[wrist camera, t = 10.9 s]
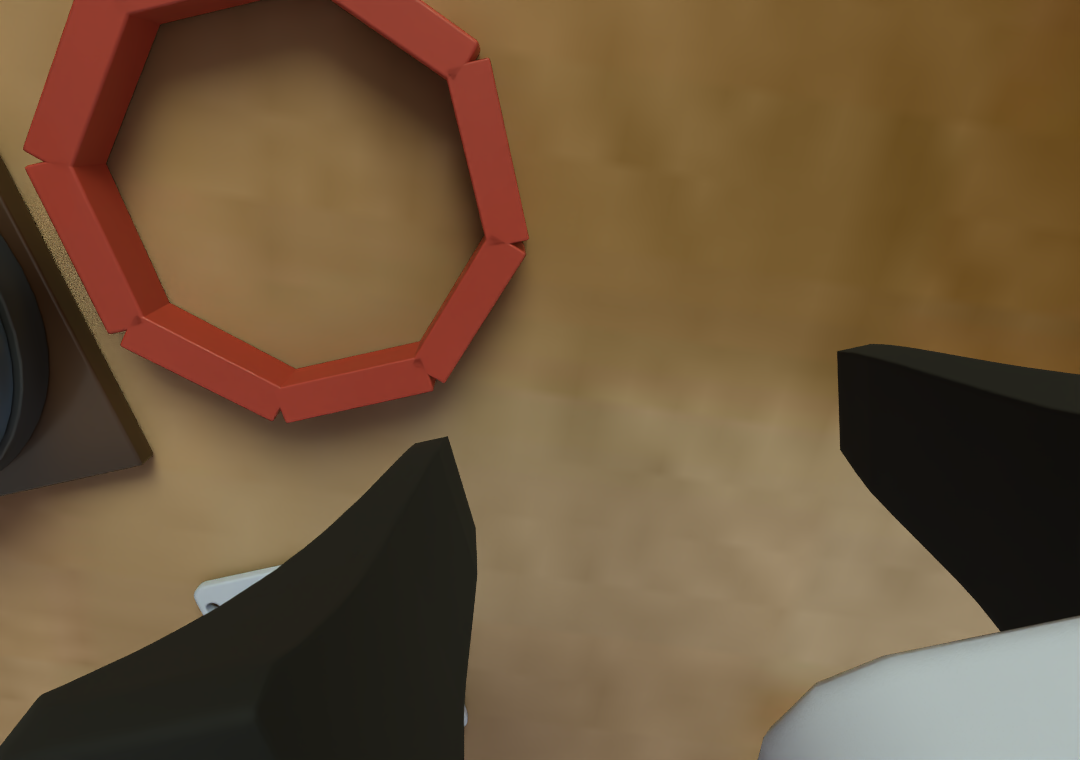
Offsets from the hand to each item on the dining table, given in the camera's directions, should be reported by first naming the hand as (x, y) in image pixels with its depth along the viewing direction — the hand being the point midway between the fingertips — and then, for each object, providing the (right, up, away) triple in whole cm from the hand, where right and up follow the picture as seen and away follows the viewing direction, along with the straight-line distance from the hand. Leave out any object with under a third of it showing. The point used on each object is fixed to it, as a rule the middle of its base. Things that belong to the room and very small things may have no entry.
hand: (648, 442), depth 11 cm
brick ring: (-9, +7, +7) cm, 13 cm away
